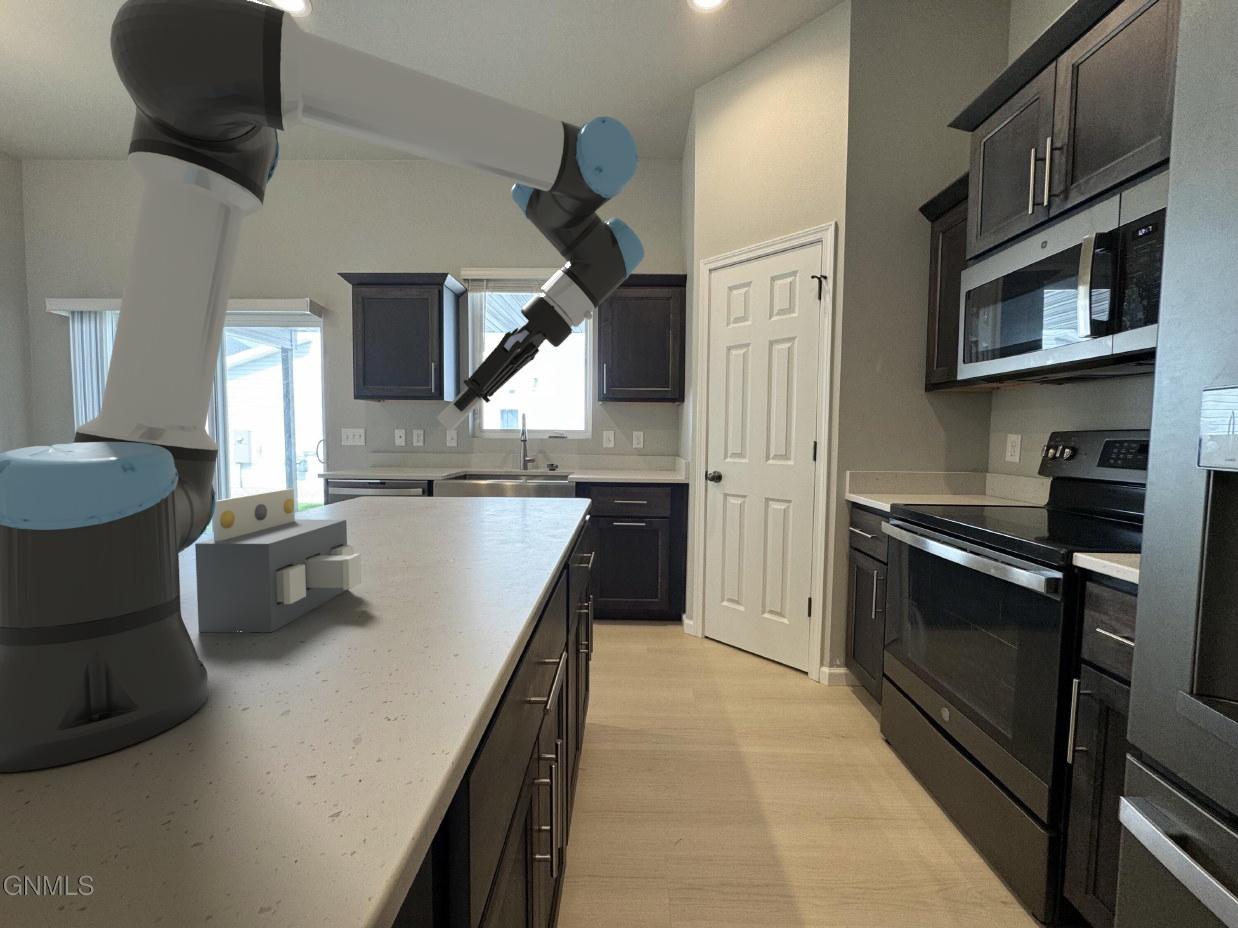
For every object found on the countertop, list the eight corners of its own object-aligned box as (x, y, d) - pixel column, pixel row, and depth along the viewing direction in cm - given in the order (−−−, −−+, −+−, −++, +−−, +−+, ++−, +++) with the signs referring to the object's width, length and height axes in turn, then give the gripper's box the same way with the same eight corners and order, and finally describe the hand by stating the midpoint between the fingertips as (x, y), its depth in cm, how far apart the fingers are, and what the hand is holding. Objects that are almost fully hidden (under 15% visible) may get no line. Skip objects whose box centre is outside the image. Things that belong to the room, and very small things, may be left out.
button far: (342, 577, 82) (342, 549, 82) (290, 577, 83) (289, 548, 82) (354, 571, 86) (353, 544, 86) (303, 571, 86) (302, 544, 86)
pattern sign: (220, 541, 69) (219, 501, 69) (214, 541, 69) (212, 501, 69) (296, 521, 85) (295, 488, 85) (290, 521, 85) (289, 488, 85)
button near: (290, 604, 69) (289, 570, 69) (228, 603, 70) (227, 570, 69) (306, 596, 73) (305, 564, 73) (246, 595, 73) (245, 564, 73)
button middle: (349, 589, 76) (348, 559, 76) (292, 589, 76) (291, 558, 76) (361, 582, 79) (360, 553, 79) (306, 582, 79) (305, 553, 79)
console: (271, 632, 68) (268, 543, 68) (198, 632, 68) (195, 543, 68) (348, 589, 87) (346, 519, 87) (290, 589, 87) (288, 519, 87)
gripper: (570, 320, 75) (448, 442, 76) (578, 337, 88) (474, 441, 89) (531, 280, 75) (409, 403, 76) (544, 303, 88) (440, 408, 89)
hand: (444, 424), depth 83 cm, fingers closed
